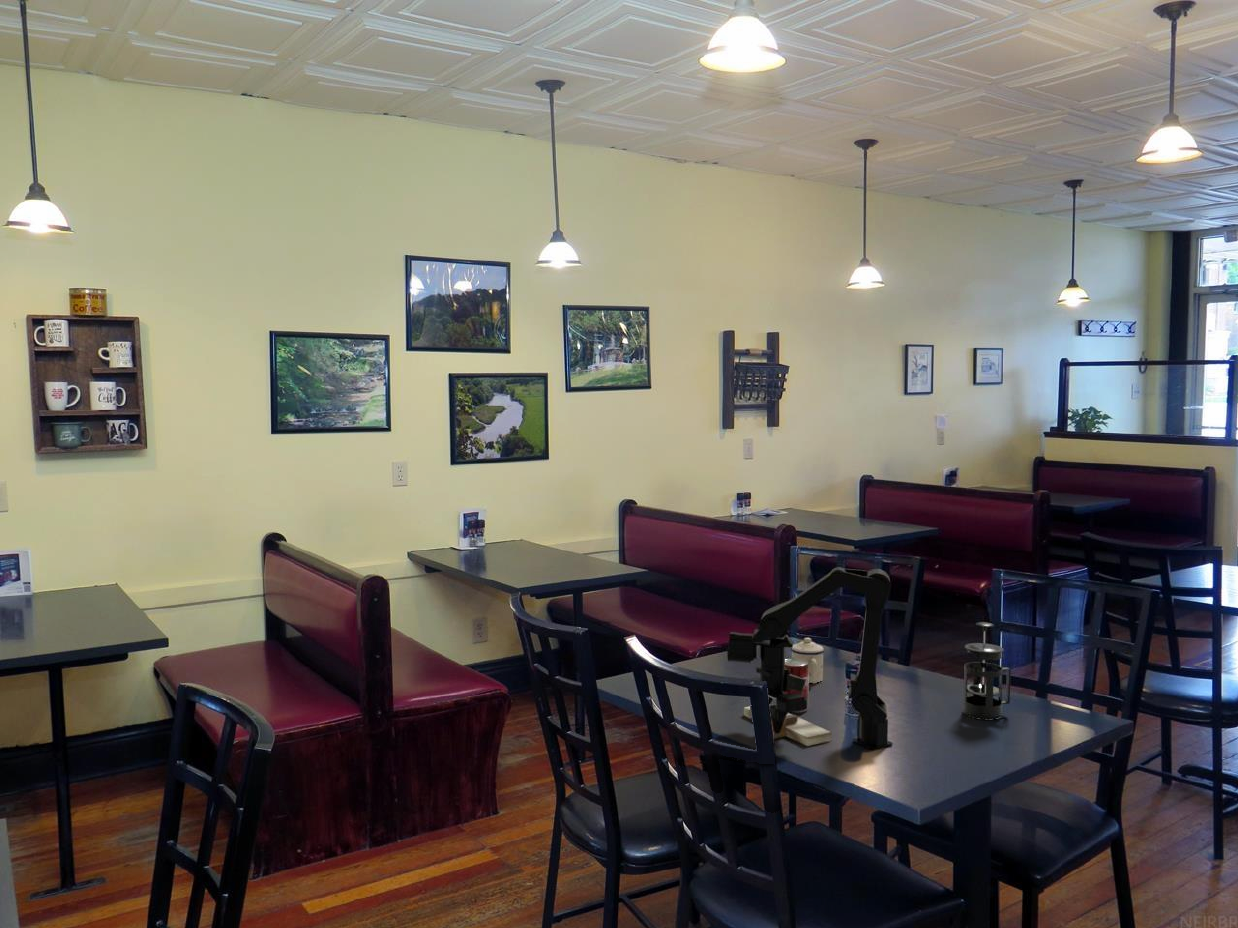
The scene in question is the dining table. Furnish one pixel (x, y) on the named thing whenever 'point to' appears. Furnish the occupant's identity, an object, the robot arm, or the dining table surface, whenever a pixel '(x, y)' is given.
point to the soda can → (802, 671)
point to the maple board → (802, 731)
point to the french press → (983, 694)
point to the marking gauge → (787, 720)
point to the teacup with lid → (810, 658)
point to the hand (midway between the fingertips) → (771, 729)
